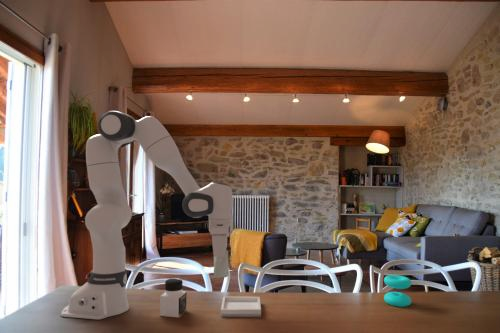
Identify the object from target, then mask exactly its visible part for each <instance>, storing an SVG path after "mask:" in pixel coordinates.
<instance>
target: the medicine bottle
mask: <svg viewBox="0 0 500 333" xmlns="http://www.w3.org/2000/svg"><path fill="white" fill-rule="evenodd" d="M159 301H160V302H159V303H160V304H159V307H160V308H159V316H160V317H166V318H167V317H168V318H177V319H178V318H180V317H182V315H183V314H184V313H186V311H187V291H186V290H183V280H182V279H181V278H177V277H173V278H168V279H167V280H165V282H164V293H162V294H161V295H160V299H159Z"/></svg>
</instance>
